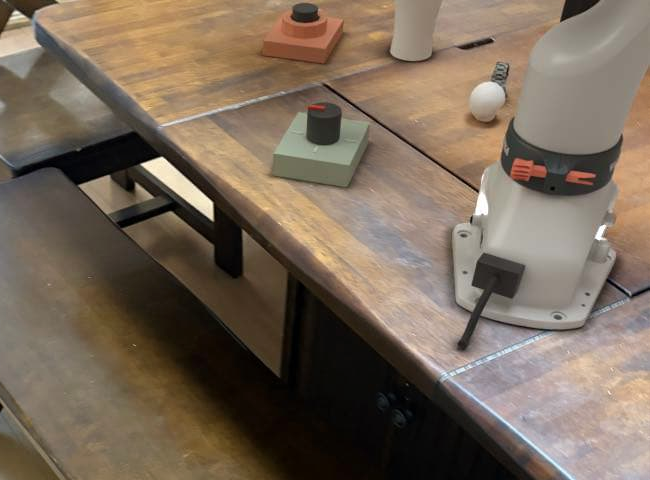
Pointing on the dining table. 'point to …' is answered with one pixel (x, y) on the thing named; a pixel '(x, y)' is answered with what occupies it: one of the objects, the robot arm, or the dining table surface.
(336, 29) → the button base
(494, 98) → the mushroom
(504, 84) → the wristwatch
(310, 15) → the dark grey puck
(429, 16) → the cup
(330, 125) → the dial
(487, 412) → the dining table surface
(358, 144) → the panel
